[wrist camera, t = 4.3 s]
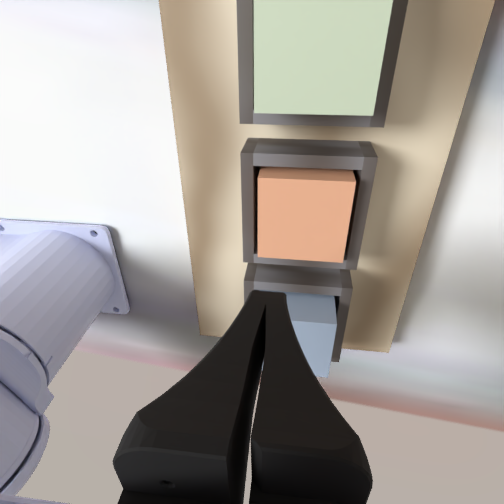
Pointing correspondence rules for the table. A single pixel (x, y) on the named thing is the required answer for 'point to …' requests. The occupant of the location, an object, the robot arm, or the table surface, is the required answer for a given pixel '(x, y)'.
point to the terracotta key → (304, 212)
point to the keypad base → (315, 159)
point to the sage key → (318, 55)
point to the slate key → (314, 327)
